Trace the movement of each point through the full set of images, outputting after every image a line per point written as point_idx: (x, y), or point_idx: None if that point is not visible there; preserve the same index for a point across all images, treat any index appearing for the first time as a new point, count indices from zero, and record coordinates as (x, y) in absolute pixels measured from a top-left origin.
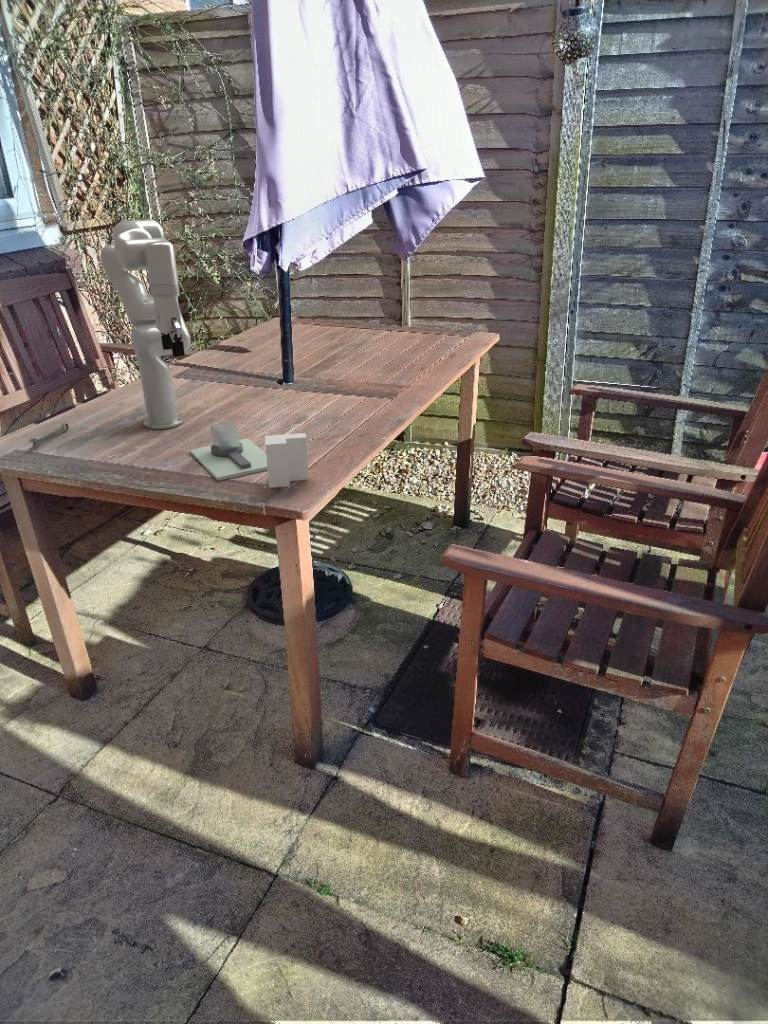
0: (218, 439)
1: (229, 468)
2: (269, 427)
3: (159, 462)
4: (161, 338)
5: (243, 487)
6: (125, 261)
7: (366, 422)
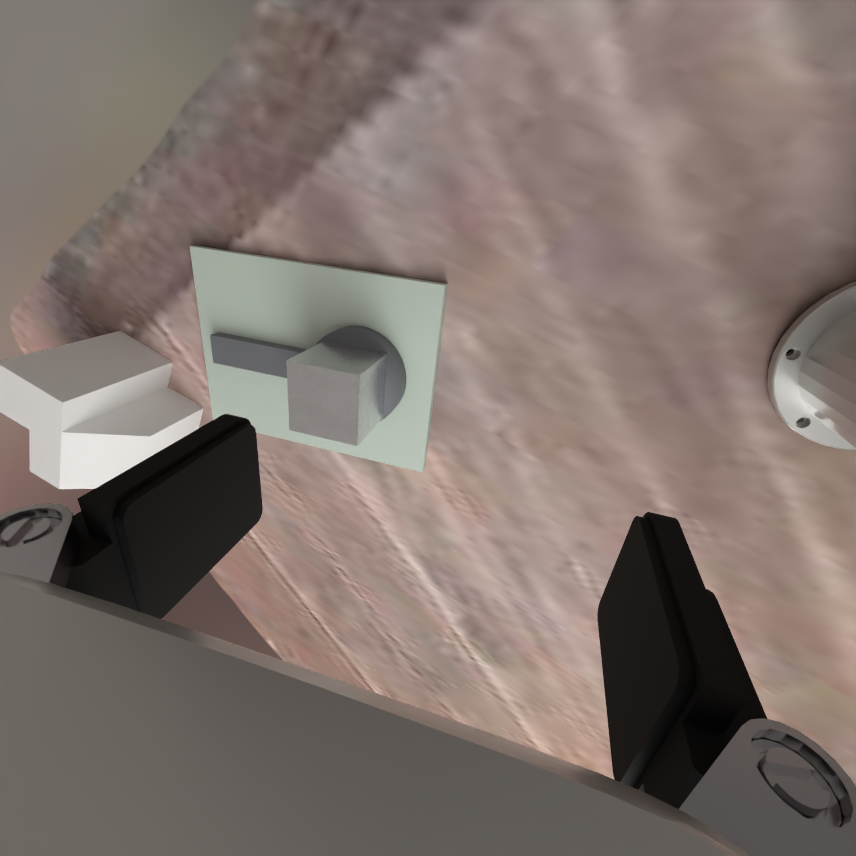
0: (304, 351)
1: (235, 308)
2: (488, 567)
3: (434, 144)
4: (717, 643)
5: (139, 281)
6: None
7: (368, 689)
